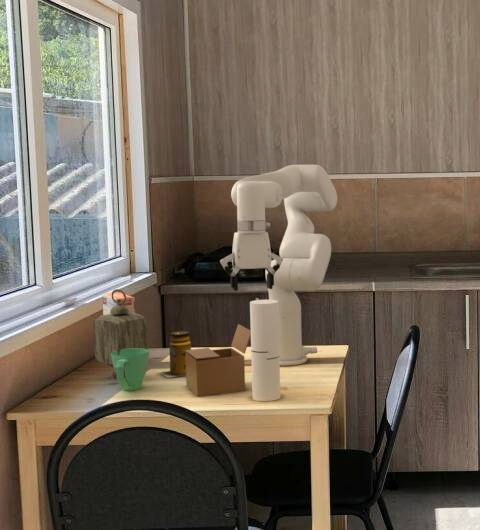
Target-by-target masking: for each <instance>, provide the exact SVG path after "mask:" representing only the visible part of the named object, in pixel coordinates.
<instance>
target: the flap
mask: <svg viewBox="0 0 480 530" xmlns="http://www.w3.org/2000/svg"><path fill="white" fill-rule="evenodd" d="M250 340H251V329H249V328H247V327H245V326H243V325H241V324H239V323H238V324H237V326H236V329H235V332H234V336H233V339H232V341H231V345H230V346H231V347H232V348H233V349H236V351H238V352H241V354H246V351H247V348H248V345H249V342H250Z"/></svg>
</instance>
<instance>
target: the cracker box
mask: <svg viewBox="0 0 480 530" xmlns="http://www.w3.org/2000/svg"><path fill="white" fill-rule="evenodd" d="M125 295H126V301H125V303H124V304H121V305H124V306H126V307H127V309H128V310H129V312H133V313H136V305H135V303H136V302H135V301H136V300H135V297H134V296H131V295H128V294H125ZM113 298H114V299H115V300H116V301H117V299H120V300H121V302H123V301H124V295H123V294H122V293H121V292H115V293H114V294H113ZM116 305H117V304H116V303H115V302H114V301H113V300H112V292H108V293H107V292H106V293H103V294H102V313H103V314H102V315H108V314H111V313H110V310H111V309H112V307H114V306H116Z"/></svg>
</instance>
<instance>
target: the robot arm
mask: <svg viewBox="0 0 480 530" xmlns="http://www.w3.org/2000/svg"><path fill="white" fill-rule="evenodd" d="M230 198H231V201H232V203H233V204H234V205H235V206H236V215H237V216H236V218H237V219H236V220H237V221H236V223H237V231H236V232H235V231H234V233H233V240H232V253H230V254H228V255H227V256H225V257H223V258H222V259H220V260H219V263H220V264H221V266H222V268H223V270H224V271H225V272H226V273H227V274H228V275H229V276H230V288H232V291H234V292H237V291H238V290H239V281H238V279H239V278H238V276H237V274H238V273H239V271H240V270H255V269H265V281H266V288H267V291H268V300H277V301H278V316H279V358H280V367H283V366H284V367H287V366H298V365H302V364H305V363H306V362H307V361H308V355H309V354H311V355H312V354H317V353H318V347H317V346H312V347H311V346H304V345H303V340H302V339H303V338H302V337H303V336H302V335H303V334H302V333H303V332H302V304H301V300H300V299H299V296H298V295H297V293H296V292H295V291H304V292H305V291H308V292H309V291H310V292H311V291H317V290H319V289H320V288H321V286H322V285H323V282H324V279H325V277H326V273H327V270H328V267H329V263H330V260H331V257H332V243H331V240H330V238H329V237H328V236H327V235H325V234H323V233H315V225H314V223H313V222H312V220H311V219H310V218H309V216H307V215H306V214H305V212H331V211H333V210H334V209H335V208H336V207H337V204H338V193H337V190H336V187H335V186H334V183H333V182H332V180H331V178H330V175H329V174H328V173H327V171H326V170H325V169H324V167H323V166H321V165H319V164H290V165H287V166H286V165H285V166H284V167H281V168H280V169H278V170H275V171H270V172H265V173H261V174H257V175H251V176H247V177H244V178H241V179H239V180H237V181H236V182H235V183H234V184H233V186H232V187H231V193H230ZM282 201H283V204H284V205H283V206H284V210H285V215H286V220H287V227H286V230H285V232H284V235H283V237H282V240H281V242H280V246H279V250H278V251H279V255H277V254H275V253H274V252H272V250H271V242H270V236H269V232H268V231H267V229H269V228H271V222H267V220H266V209H274V208H276V207H279V205H281V203H282ZM229 262H231V263H232V264H231V265H232V268H230V267H229V265H228V263H229Z"/></svg>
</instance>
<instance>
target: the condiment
mask: <svg viewBox="0 0 480 530" xmlns="http://www.w3.org/2000/svg"><path fill="white" fill-rule="evenodd" d="M169 337H170V339H169V340H170V342H169V344H168V345H169V346H168V347H169V371H159V374H161V375H162V376H163V377H165V378H167V379H170V378H175V377H186V356H185V353H187V352H186V350H192V342H191V340H190V333H189V332H188V331H182V330H181V331H180V330H179V331H173V332H171V333H170V335H169Z"/></svg>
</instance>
